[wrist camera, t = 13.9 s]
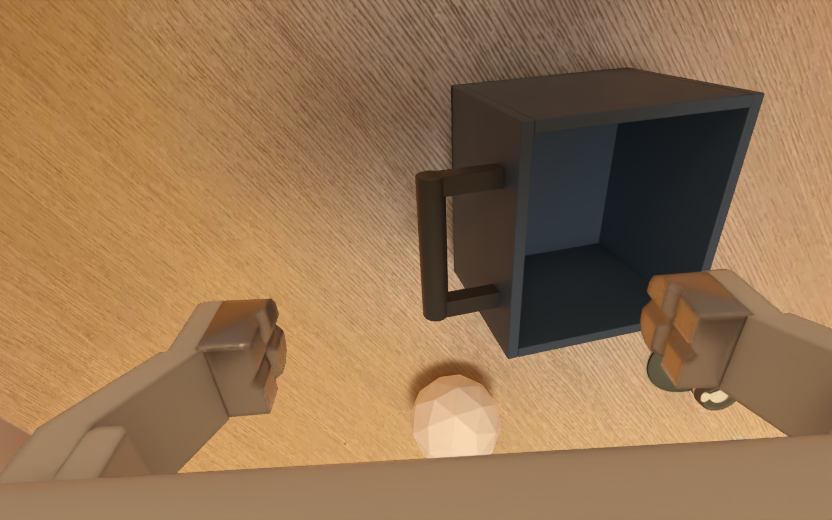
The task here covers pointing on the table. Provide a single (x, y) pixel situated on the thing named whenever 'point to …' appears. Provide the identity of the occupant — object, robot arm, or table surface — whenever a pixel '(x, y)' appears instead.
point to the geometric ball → (455, 418)
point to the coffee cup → (704, 396)
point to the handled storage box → (578, 199)
